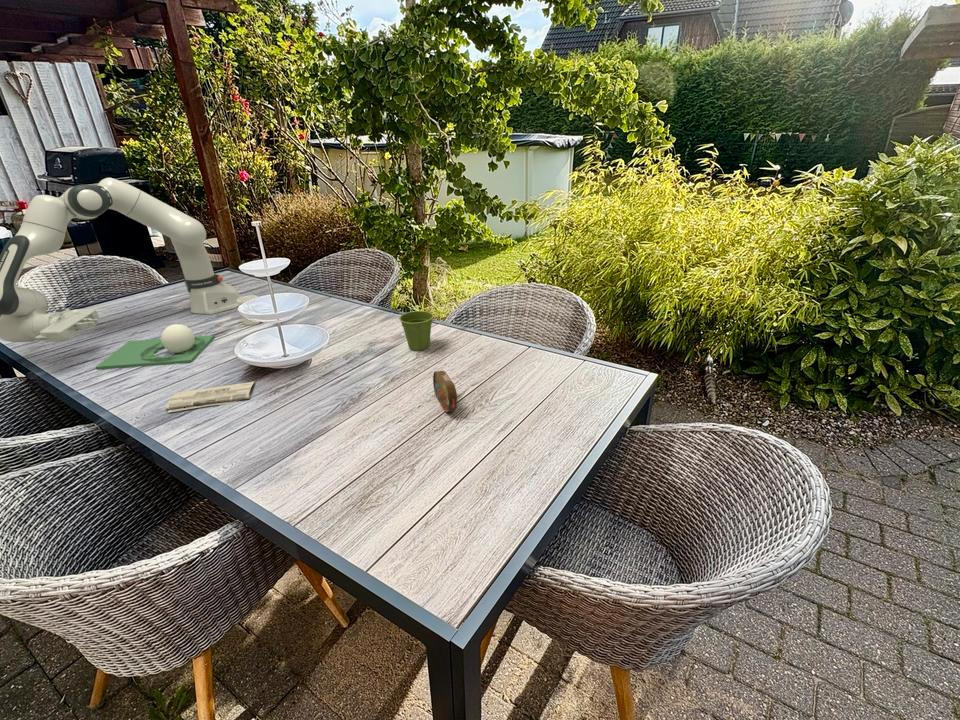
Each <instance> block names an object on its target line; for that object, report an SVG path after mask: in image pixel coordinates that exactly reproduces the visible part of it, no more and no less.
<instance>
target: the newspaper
mask: <svg viewBox="0 0 960 720" xmlns="http://www.w3.org/2000/svg"><path fill="white" fill-rule="evenodd" d="M254 384H256V381H248V382H242V383H235V384H227V385H221V386H220V385H218V386H213V387H205V388H198V389H197V388H196V389H191V390H185V391H176V392H175V393H174V394H173V395H172V397H171V398H170V399H169V400H168V402H167V403H166V404H165V410H166V411H167V413H172V412H173V413H174V412H180V411H186V410H192V409H197V408H198V409H199V408H204V407H210V406H221V405H229V404H233V403H237V402H241V401H242V400H248V399H250V398H251V395H252V394H251V388H252V386H253V385H254ZM197 405H198V406H197ZM184 407H185V408H184Z"/></svg>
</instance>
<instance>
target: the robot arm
mask: <svg viewBox="0 0 960 720" xmlns="http://www.w3.org/2000/svg"><path fill="white" fill-rule="evenodd" d="M107 210H113V211H117V212H118V213H120V214H122V215H124V216H125V217H128V218H129V219H132V220H134V221H136V222H138V223H140V224H142V225H143V226H146V227H148V228H149V229H151V230H154V231H156V232H158V233H160V234H161V235H164V236H166V237H168V238H170V242H171V244H172V246H173V248H174V251H175V253H176V255H177V256H176V257H177V258H178V261H179V263H180V267H181V270H182V274H183V276H184V279H183V280H184V284H185V288H186V290H187V292H188V294H189V295H188V296H189V303H190V312H191V313H192V314H200V315H201V314H207V315H214V314H217V313H221V312H225V311H229V310H233V309H236V308H238V307H237V306H238V303H237V299H238V298H240V297H244V296H243V295H240V292H239V290H238V289H237V288H236V287H235V286H232V285H230V284H228V283H226V282H223V281H224V278H223V276H222V275H220V274H218V273H215V272H214V268H213V265H212V262H211V259H210V258H211V257H210V255H209V253H208V251H207V249H206V247H205V245H204V243H205V242H206V239H207V231H206V229H205V226H204V224H203V223H201V222H200V221H199V220H197V219H195V218H194V217H192V216H190V215H188V214H186V213H184V212H182V211H181V210H178V209H177V208H175V207H173V206H170V205H169V204H167V203H165V202H163V201H162V200H159V199H158V198H156V197H154V196H152V195H151V194H148V193H147V192H145V191H143V190H141V189H139V188H137V187H135V186H133V185H131V184H129V183H126V182H124V181H122V180H119V179H116V178H112V177H105V178H103V179H101V180H100V181H99V182H98V183H97V185H95V184H78V185H77V184H76V185H74V186H71V187H69V188H68V189H66V190H65V191H64V192H63V193H62V194H61V195H59V196H58V197H56V196H53V195H49V194H37V195H35V196H34V197H32V199H31V200H30V202H29V204H28V206H27V208H26V210H25V212H24V213H25V214H24V216H23V217H22V218H23V219H22V223H21V226H20V228H19V229H18V231H17V232H16V234H15V235H14V236H12V237H10V238H9V239H8V240H7V242H6V243H5V245H4V246H3V248H2V250H1V253H0V339H1V340H3V341H5V342H9V343H31V342H35V341H44V342H45V343H57V342H64V341H68V340H69V339H70V338H71V337H73V336H75V335H76V334H77V333H79V332H81V331H83V330H86V329H90V328H95V327H96V326H97V325H99V324H100V322H99V319H100V316H99V314H98V312H97V310H96V309H94V308H76V309H70V308H63V309H60V310H55V312H48V309H49V308H48V307H49V306H48V305H49V304H48V300H47V297H46V295H44V293H42V292H41V291H39V290H35V289H31V288H26V287H21V286H17V283H18V280H19V278H20V275H21V273H22V271H23V269H24V266H25V265H26V263H27V262H28V261H29V260H30V259H31V258H34V257H37V256H38V257H39V256H46V255H50V254H55V253H56V252H58V251H59V250H60V249H61V248H62V246H63V244H64V241H65V238H66V233H67V228H68V225H69V223H70V222H71V220H77V221H87V220H93V219H96V218H98V217H99V216H101V215H103V214H104V213H105V212H106V211H107Z"/></svg>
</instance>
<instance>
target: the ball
mask: <svg viewBox="0 0 960 720" xmlns="http://www.w3.org/2000/svg"><path fill="white" fill-rule="evenodd" d="M195 336H196V335H195V334H194V332H193V330H192V329H191V328H190V327H188V326H187V325H184V324H180V323H179V324H178V323H177V324H176V323H174V324H172V325H169V326H167V327H166V328H165V329H164V330H163V331H162V333H161V335H160V339H161V342H162V344H163V346H164V347H165V348H164V349H166V350H167V351H169V352H171V353H174V354H175V353H176V354H181V353H183V352H185V351H188V350H190V349H191V348H192V347H193V344H194V341H195Z"/></svg>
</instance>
